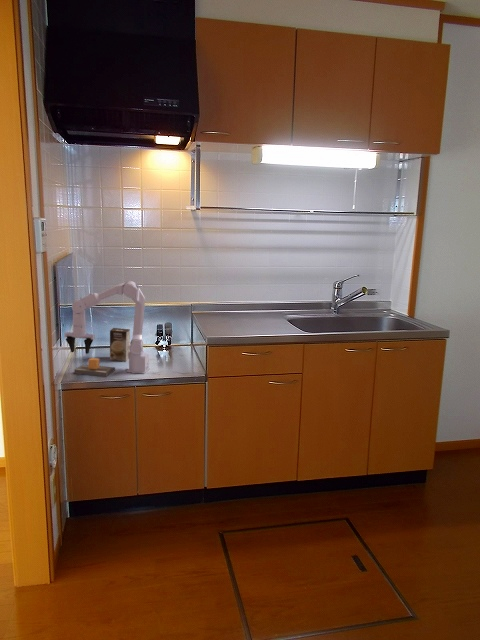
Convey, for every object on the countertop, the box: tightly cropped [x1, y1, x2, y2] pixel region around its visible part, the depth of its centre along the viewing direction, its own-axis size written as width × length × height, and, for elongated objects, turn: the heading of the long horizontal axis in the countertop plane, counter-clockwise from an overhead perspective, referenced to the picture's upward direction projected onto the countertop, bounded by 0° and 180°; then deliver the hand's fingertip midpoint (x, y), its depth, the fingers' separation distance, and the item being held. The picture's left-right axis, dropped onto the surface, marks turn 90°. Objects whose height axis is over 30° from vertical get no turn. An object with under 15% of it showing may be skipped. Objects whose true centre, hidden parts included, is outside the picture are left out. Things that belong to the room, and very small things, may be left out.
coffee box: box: [109, 327, 131, 362], centre depth 264 cm, size 9×6×16 cm
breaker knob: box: [88, 357, 100, 369], centre depth 242 cm, size 4×3×4 cm
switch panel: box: [74, 364, 114, 378], centre depth 243 cm, size 16×8×2 cm, turn 80°
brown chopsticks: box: [85, 363, 116, 371], centre depth 249 cm, size 16×2×1 cm, turn 80°
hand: (80, 352), depth 242 cm, fingers open, 7 cm apart
